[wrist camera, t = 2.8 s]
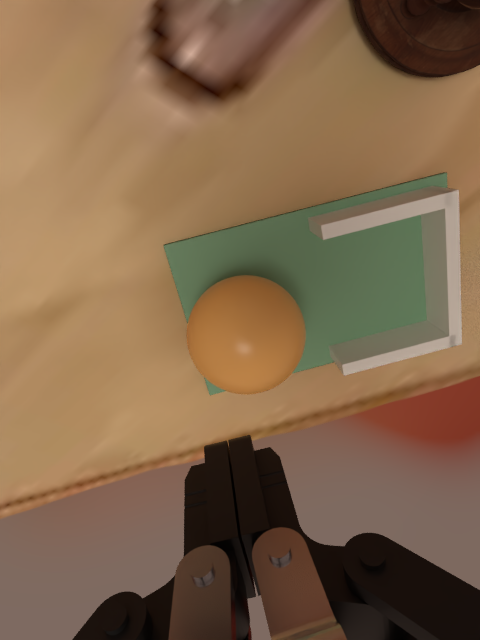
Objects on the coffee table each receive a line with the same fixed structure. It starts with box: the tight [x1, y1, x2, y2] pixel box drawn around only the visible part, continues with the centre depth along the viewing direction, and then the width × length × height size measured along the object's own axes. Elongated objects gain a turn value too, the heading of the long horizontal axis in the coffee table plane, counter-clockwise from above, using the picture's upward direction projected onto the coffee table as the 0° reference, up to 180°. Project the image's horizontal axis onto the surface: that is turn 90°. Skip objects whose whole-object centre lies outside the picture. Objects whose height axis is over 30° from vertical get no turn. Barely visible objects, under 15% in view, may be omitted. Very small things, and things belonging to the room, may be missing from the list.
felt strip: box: [164, 173, 447, 395], centre depth 41 cm, size 26×16×1 cm, turn 103°
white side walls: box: [308, 186, 462, 376], centre depth 39 cm, size 12×14×4 cm
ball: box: [187, 275, 306, 394], centre depth 36 cm, size 10×10×10 cm
